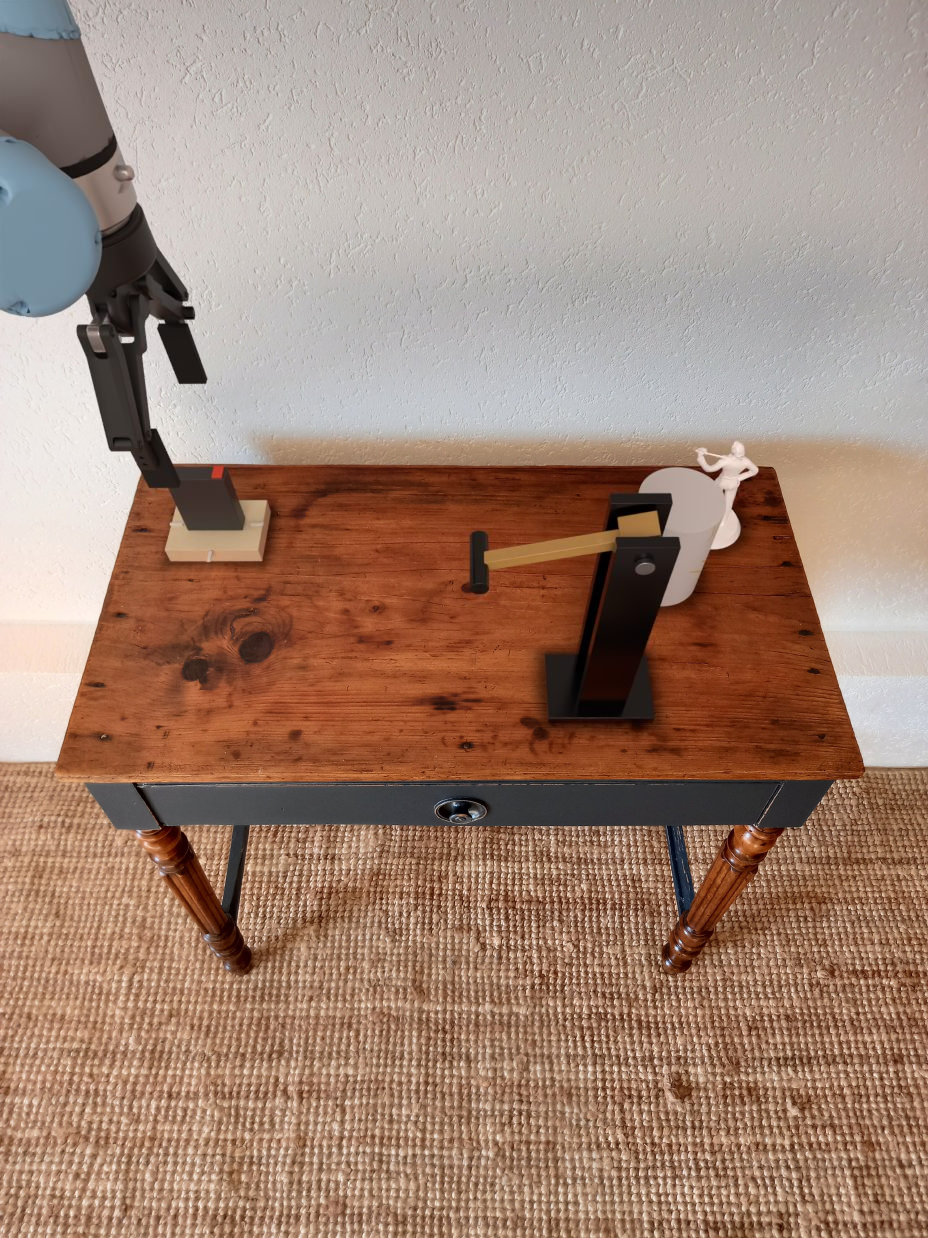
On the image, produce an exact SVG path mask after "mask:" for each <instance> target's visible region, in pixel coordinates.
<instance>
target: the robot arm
mask: <svg viewBox="0 0 928 1238" xmlns="http://www.w3.org/2000/svg"><path fill="white" fill-rule="evenodd" d="M122 153H123V152H122V150H121V148H120V144H119V142H118V140H117V136H116V134H115V130H114V129H113V126H112V123H111V120H110V118H109V115H108V112H107V109H106V107H105V103H104V100H103V98H102V95H101V93H100V89H99V86H98V84H97V81H96V78H95V74H94V72H93V69H92V66H91V63H90V61H89V57H88V55H87V52H86V48H85V46H84V43H83V40H82V30H81V28H80V26H79V25H78V23H77V22H76V19H75V16H74V14H73V11H72V9H71V7H70V5H69V1H68V0H0V311H1V312H5V313H7V314H8V315H9V314H10V315H14V316H19V317H26V318H35V319H36V318H46V317H49V316H53V315H56V314H58V313H61V312H63V311H65V310H67V309H69V308H70V307H71V306H73V305H74V304H76V303H77V302H78V301H79V300H80V299H82V297H83V296H86V300H87V302H88V306H89V311H90V315H91V318H92V319H91V321H90V323H89V324H86V323H83V324H82V323H81V324H77V325H76V329H75V332H76V337H77V339H78V342H79V344H80V346H81V349H82V352H83V353H84V355H85V358H86V362H87V366H88V370H89V375H90V378H91V382H92V386H93V390H94V394H95V398H96V403H97V406H98V411H99V415H100V419H101V423H102V427H103V432H104V435H105V439H106V444H107V448H108V450H109V451H110V452H115V453H116V452H117V453H119V452H124V453H127V452H128V453H130V454H131V456H132V458H133V459H134V462H135V464H136V466H137V467H138V469H139V471H140V473H141V475H142V477H143V479H144V481H145V483H146V484H147V487H148V489H168V488H179V487H180V483H181V481H180V479H179V477H178V474H177V472H176V470H175V468H174V467H175V465H174V464H173V461H172V459H171V457H170V455H169V452H168V450H167V448H166V446H165V444H164V441H163V439H162V437H161V435H160V433H159V430H158V429H157V428H156V427H153V428H152V427H151V419H150V410H149V402H148V401H149V400H148V393H147V385H146V376H145V368H144V360H143V359H144V358H143V355H144V354H145V353H146V352H147V350H148V340H147V333H146V321H147V320H148V318H149V317H150V316H152V317H153V318H155V319H157V320H159V321H163V323H162V322H161V323H158V324H157V327H156V330H157V332H158V335H159V338H160V340H161V342H162V345H163V347H164V350H165V353H166V355H167V358H168V361H169V362H170V365H171V367H172V370H173V372H174V376H175V377H176V380H177V383H178V385H207V384H208V383H207V382H208V376H207V373H206V371H205V368H204V365H203V362H202V359H201V356H200V354H199V351H198V348H197V346H196V342H195V340H194V337H193V334H192V331H191V328H190V326H189V323H188V322H186V321H195V320H196V311H195V307H194V306H193V305H184V302H189V297H190V294H189V291H188V289H187V287H186V285H185V284H184V282H183V281H182V280H181V278H180V276H179V275H178V274H177V273H176V271H175V269H173V267H172V265H171V264H170V262H169V261H168V259H167V258H166V257H165V255H164V254H163V253H162V251H161V250H160V248H159V247H158V244H157V242H156V240H155V237H154V235H153V233H152V230H151V228H150V226H149V223H148V220H147V217H146V214H145V212H144V208H143V207H142V205H141V204H140V203H139V202H138V196H137V191H136V189H135V186H134V184H133V180H134V179H135V178H136V174H135V170H134V168H133V167H132V166H131V165H129V164H126V162H125V159H124V156H123V154H122ZM123 338H133V341H132V342H123Z"/></svg>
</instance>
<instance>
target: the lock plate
mask: <svg viewBox="0 0 928 1238" xmlns="http://www.w3.org/2000/svg"><path fill="white" fill-rule="evenodd" d="M239 502H240V505H241V507H242V510H243V513H244V516H245V522H244V527H243V530H187V527H186V525H185V523H184V521H183V519H182V517H181V515H180V513H179V510H178V508H177V506H176V505H175V509H174V513H173V517H172V521H171V522H169V526H170V528H169V532H168V536H167V540H166V543H165V547H164V552H165V553H166V555H167V557H168V559H169V561H170V562H206V563H211V562H263V559H264V553H265V549H266V541H267V536H268V531H269V525H270V520H271V514H272V510H271V508H270V505H269V504H270V503H269V502H268V500H267V499H256V500H255V499H239Z"/></svg>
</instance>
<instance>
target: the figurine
mask: <svg viewBox="0 0 928 1238" xmlns="http://www.w3.org/2000/svg"><path fill="white" fill-rule="evenodd" d="M745 449H746V447H745V445H744V443H742V442H741V441H739V440H735V441H734V442H733V444H732V445H731V449H730V453H729V454H722V455H719V454H716V453H715V454H714V453H710V452H708V448H706V447H703V446H702V447H698V448H697V449H695V450H694V452H695V453H696V454H697V458H696V461H697V463H698V464H699V465H700V468H702V470H703V471H704V472H706V473H713V472H714V473H715V472H717V471H719V470H720V469H722V471H721V473H720V474H719V476H717V477H716V478H715V480H714V481H715V482H716V483H717V484H718V485H719V487H720V488H721V489H722V491H723V492H724V495H725V499H726V511H725V514H724V516H723V519H722V521H721V524H720V526H719V529H718V531H717V533H716V536H715V538H714V541H713V543H712V546H711V548H710V550H719V549H724V548H727V547H729V546H731V545H733V544H734V543H735V542H736V541H737V540H738V538H739V537H740V534H741V523H740V520H739V518H738V516H737V514H736V513H735V512H734V510H733V509H732V508H733V504H734V501H735V498H736V495H737V492H738V488H739V486H740V484H741V481H744V480H746V479H748V478H751V477H754V476H757V474H758V472H759V467H758V466H757V465H756V464H755V463H754V462H753V461H752V460H750V458H748V457H746V455H745V454H746V451H745ZM704 455H705V456H707V455H709V456H712V457H715V458H720V459H718V460H717V461H716V463H714V464H712V465H710V464H709V463H708V462H707V461H706V457H704ZM745 469H747V471H745V472H743V471H744V470H745Z"/></svg>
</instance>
